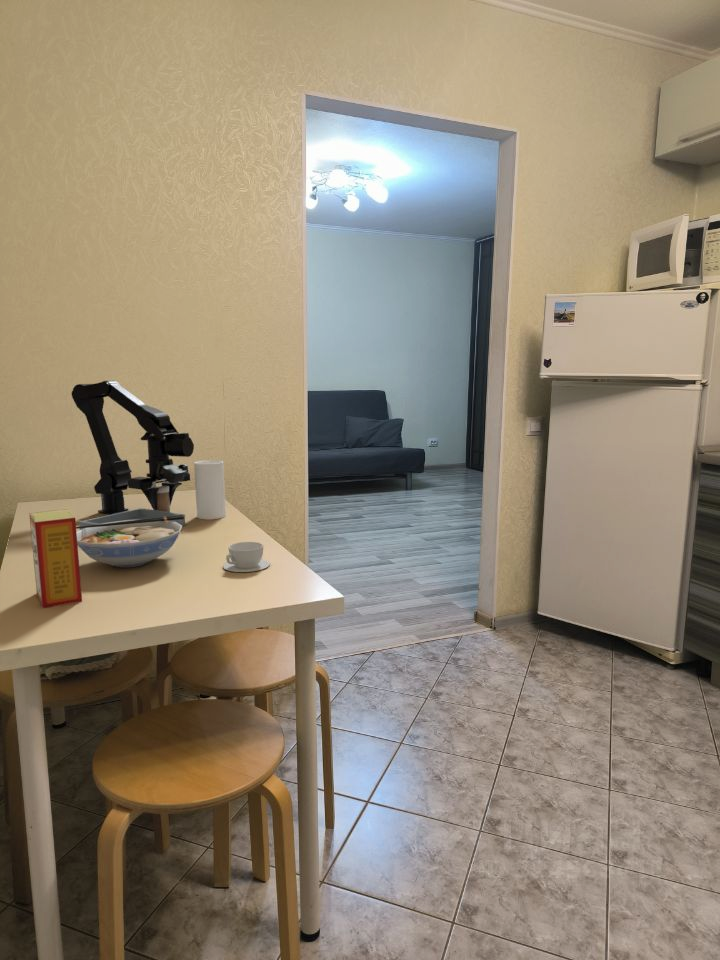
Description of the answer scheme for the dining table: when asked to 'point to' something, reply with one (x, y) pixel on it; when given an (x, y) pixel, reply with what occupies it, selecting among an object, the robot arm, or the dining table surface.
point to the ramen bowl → (129, 540)
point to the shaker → (163, 498)
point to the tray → (131, 517)
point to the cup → (210, 489)
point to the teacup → (245, 557)
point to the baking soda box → (55, 557)
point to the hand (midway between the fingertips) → (161, 508)
